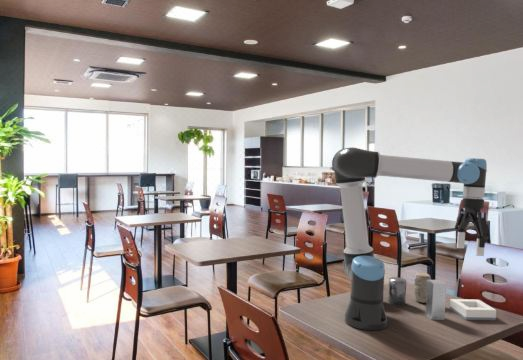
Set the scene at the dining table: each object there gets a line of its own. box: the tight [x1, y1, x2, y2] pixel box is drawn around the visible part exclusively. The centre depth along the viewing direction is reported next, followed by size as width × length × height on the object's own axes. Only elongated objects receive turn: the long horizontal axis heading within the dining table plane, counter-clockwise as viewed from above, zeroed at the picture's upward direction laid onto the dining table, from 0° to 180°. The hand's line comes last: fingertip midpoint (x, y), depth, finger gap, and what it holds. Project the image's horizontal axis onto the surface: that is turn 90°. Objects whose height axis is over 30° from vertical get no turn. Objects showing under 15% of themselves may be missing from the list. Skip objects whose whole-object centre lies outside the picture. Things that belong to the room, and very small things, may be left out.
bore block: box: [449, 298, 497, 321], centre depth 166 cm, size 12×12×4 cm
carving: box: [413, 272, 432, 304], centre depth 179 cm, size 6×8×12 cm
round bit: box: [387, 276, 407, 307], centre depth 176 cm, size 7×7×10 cm
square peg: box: [425, 279, 447, 321], centre depth 161 cm, size 5×5×14 cm
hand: (469, 251), depth 164 cm, fingers open, 13 cm apart
